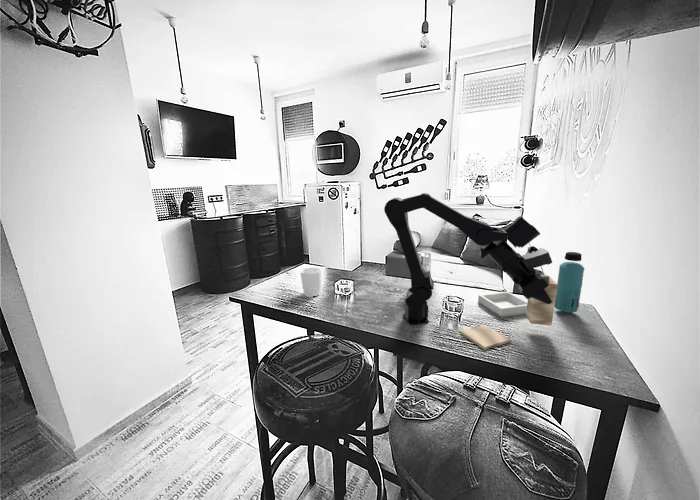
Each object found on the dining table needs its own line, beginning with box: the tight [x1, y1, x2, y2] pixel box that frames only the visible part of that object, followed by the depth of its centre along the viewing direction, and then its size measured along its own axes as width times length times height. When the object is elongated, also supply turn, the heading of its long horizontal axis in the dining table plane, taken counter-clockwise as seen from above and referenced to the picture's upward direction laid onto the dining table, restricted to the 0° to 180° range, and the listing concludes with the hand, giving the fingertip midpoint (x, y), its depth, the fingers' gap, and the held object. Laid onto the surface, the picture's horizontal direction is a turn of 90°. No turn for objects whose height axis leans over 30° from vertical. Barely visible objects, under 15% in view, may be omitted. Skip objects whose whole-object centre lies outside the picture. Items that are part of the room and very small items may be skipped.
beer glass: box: [417, 251, 432, 272], centre depth 114 cm, size 7×7×15 cm
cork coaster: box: [459, 324, 511, 351], centre depth 81 cm, size 9×9×1 cm
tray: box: [477, 291, 528, 318], centre depth 98 cm, size 12×12×3 cm
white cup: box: [300, 267, 322, 298], centre depth 115 cm, size 8×8×10 cm
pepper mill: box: [525, 274, 558, 326], centre depth 80 cm, size 5×5×13 cm
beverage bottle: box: [554, 251, 585, 314], centre depth 91 cm, size 6×7×20 cm
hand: (547, 299), depth 80 cm, fingers closed on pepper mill, 5 cm apart
